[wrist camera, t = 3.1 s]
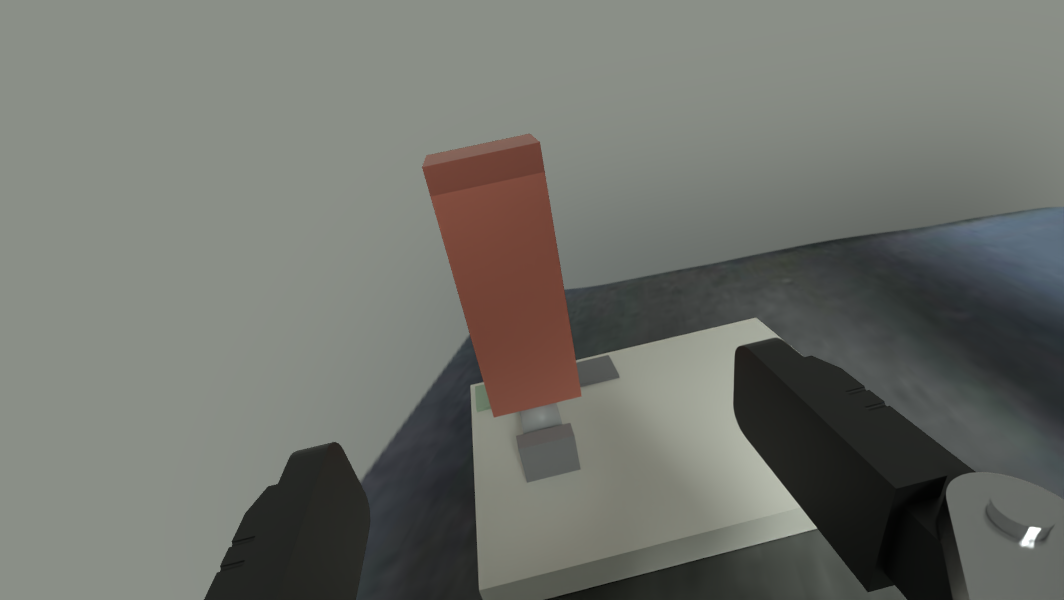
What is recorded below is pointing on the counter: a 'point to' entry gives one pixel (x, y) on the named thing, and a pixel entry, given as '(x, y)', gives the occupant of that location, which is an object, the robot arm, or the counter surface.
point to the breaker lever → (507, 274)
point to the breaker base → (625, 473)
